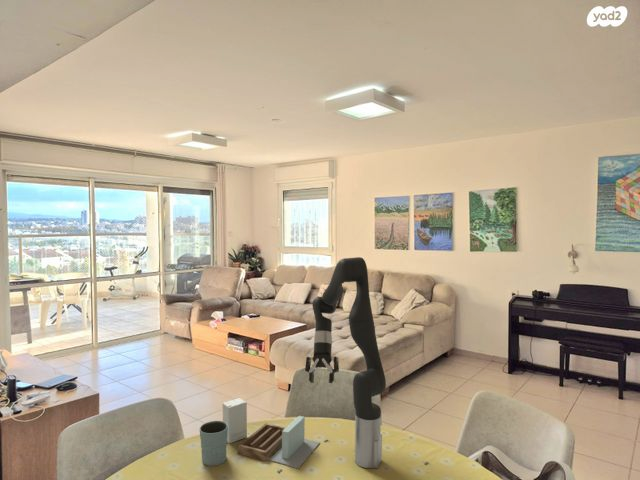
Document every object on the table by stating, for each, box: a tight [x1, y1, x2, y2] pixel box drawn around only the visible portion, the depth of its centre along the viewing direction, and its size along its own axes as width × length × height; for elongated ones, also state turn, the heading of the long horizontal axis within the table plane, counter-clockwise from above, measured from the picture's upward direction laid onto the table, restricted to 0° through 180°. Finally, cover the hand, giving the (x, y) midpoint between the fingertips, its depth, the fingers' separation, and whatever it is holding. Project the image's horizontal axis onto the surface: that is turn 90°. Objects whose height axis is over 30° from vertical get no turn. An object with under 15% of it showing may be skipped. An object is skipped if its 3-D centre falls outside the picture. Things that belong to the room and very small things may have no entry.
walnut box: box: [237, 422, 286, 462], centre depth 161 cm, size 12×20×3 cm, turn 157°
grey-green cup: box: [199, 420, 228, 466], centre depth 151 cm, size 10×10×12 cm
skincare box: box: [222, 397, 248, 444], centre depth 166 cm, size 8×6×15 cm
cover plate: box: [281, 415, 306, 459], centre depth 157 cm, size 2×14×10 cm, turn 157°
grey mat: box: [268, 438, 321, 469], centre depth 156 cm, size 12×19×1 cm, turn 156°
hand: (321, 382), depth 169 cm, fingers open, 8 cm apart
